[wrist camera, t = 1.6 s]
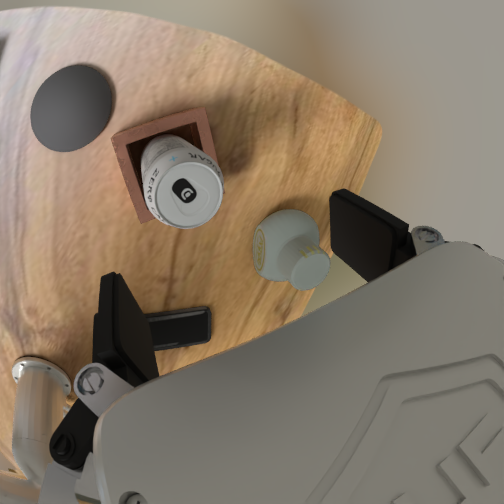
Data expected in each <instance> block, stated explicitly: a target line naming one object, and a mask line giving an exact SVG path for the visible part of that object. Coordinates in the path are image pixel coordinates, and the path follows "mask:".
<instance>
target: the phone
mask: <svg viewBox="0 0 504 504" xmlns="http://www.w3.org/2000/svg"><path fill="white" fill-rule="evenodd" d="M144 315H145V317H146V319H147V321H148V323H149V326H150V330H151V336H152V342H153V347H154V351H159V350H166V349H173V348H179V347H186V346H192V345H197V344H203V343H207V342H208V341H210V339H211V311H210V309H209V308H208V307H206V306H202V307H195V308H188V309H181V310H174V311H166V312H159V313H151V314H144Z"/></svg>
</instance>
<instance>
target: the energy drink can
mask: <svg viewBox="0 0 504 504" xmlns="http://www.w3.org/2000/svg"><path fill="white" fill-rule="evenodd" d="M141 172H142V181H143V189H144V197H145V201H146V204H147V206H148V208H149V210H150V212H151V213H152V214H153V215H154V217H156V218H157V219H158V220H159V221H161V222H163V223H165V224H167V225H170V226H173V227H177V228H182V229H189V228H195V227H198V226H201V225H203V224H205V223H206V222H207V221H209V220H210V219H211V218H212V217H213V216H214V215H215V214H216V212H217V211H218V209H219V207H220V205H221V202H222V198H223V191H224V180H223V175H222V172H221V169H220V168H219V166H218V164H217V163H216V162H215V161H214V160H213V159H212V158H211V157H210V156H208V155H207V154H205V153H204V152H202V151H201V150H199V149H198V148H196V147H195V146H193V145H192V144H190V143H188V142H187V141H185V140H184V139H182V138H181V137H179V136H176V135H172V134H164V135H160V136H157V137H155V138H154V139H152V140H151V141H150V142H149V143H148V144H147V145H146V146H145V148H144V149H143V152H142V155H141Z"/></svg>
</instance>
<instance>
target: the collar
mask: <svg viewBox="0 0 504 504" xmlns="http://www.w3.org/2000/svg"><path fill="white" fill-rule="evenodd" d="M186 124H190V129H191V133H192V137H193V141H194V145H195V147H196V148H198V149H199V150H201V151H202V152H204V153H205V154H207V155H208V156H210V157H211V158H212V159H213V160H214V161H215V162H216V163H217V164H218V161H217V157H216V152H215V148H214V144H213V140H212V135H211V131H210V127H209V122H208V118H207V113H206V109H205V107H196V108H192V109H189V110H185V111H181V112H178V113H175V114H171V115H168V116H165V117H162V118H158V119H155V120H152V121H149V122H146V123H144V124H141V125H138V126H135V127H132V128H130V129H127V130H124V131H122V132H119V133H117V134H114V135H113V136H112V138H111V141H112V144H113V147H114V150H115V153H116V156H117V159H118V162H119V165H120V168H121V171H122V174H123V177H124V180H125V183H126V186H127V188H128V191H129V194H130V197H131V199H132V202H133V205H134V207H135V210H136V212H137V215H138V218H139V220H140V223H141V224H142V223H144V222H147V221H150V220H152V219H155V218H156V217H154V215H153V214H152V213H151V212H150V210H149V208H148V206H147V204H146V201H145V197H144V191H143V189H142V186H141V183H140V180H139V177H138V174H137V171H136V168H135V165H134V162H133V158H132V155H131V152H130V149H129V146H128V144H129V143H132V142H134V141H137V140H140V139H143V138H146V137H148V136H151V135H154V134H157V133H160V132H163V131H166V130H169V129H172V128H176V127H179V126H182V125H186ZM218 166H219V165H218ZM224 193H225V191H223V194H224Z"/></svg>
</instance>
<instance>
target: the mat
mask: <svg viewBox="0 0 504 504" xmlns="http://www.w3.org/2000/svg"><path fill="white" fill-rule="evenodd" d="M111 104H112V97H111V91H110V88H109V85H108V83H107V81H106V80H105V78H104V77H103V76H102V75H101V74H100V73H99V72H97V71H96V70H94V69H92V68H90V67H87V66H70V67H66V68H63V69H61V70H59V71H57V72H55V73H54V74H52V75H51V76H50V77H49V78H48V79H46V80H45V82H44V83H43V84H42V85H41V87H40V88H39V89H38V91H37V93H36V95H35V97H34V100H33V103H32V107H31V125H32V129H33V132H34V134H35V136H36V137H37V139H38V140H39V141H40V142H41V143H42V144H43V145H44V146H45V147H47V148H49V149H51V150H54V151H58V152H70V151H74V150H77V149H80V148H82V147H84V146H86V145H87V144H89V143H90V142H91V141H92V140H94V139H95V138H96V137H97V136H98V135H99V134H100V132H101V131H102V129H103V128H104V126H105V125H106V123H107V120H108V118H109V115H110V111H111Z"/></svg>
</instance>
